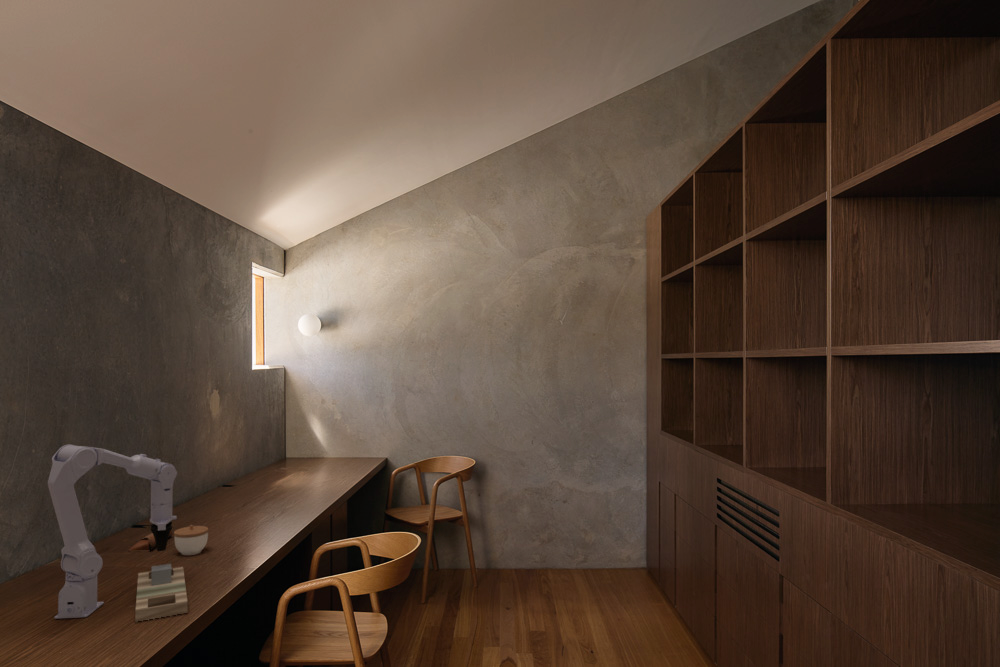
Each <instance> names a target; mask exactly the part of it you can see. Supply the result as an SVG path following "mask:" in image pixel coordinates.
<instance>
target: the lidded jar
mask: <svg viewBox="0 0 1000 667" xmlns="http://www.w3.org/2000/svg"><path fill="white" fill-rule="evenodd" d="M173 538H174V541H173V542H174V545H175V546H174V547H175V548H176V550H177V552H179V553H180V554H181V555H183V556H195V555H198V554H200V553H202V550H204V548H205V547H206V545H207V543H208V540H209V528H208V526H205V525H193V524H190V525H189V526H185V527H181V528H178V529H175V530H174V532H173Z"/></svg>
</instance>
